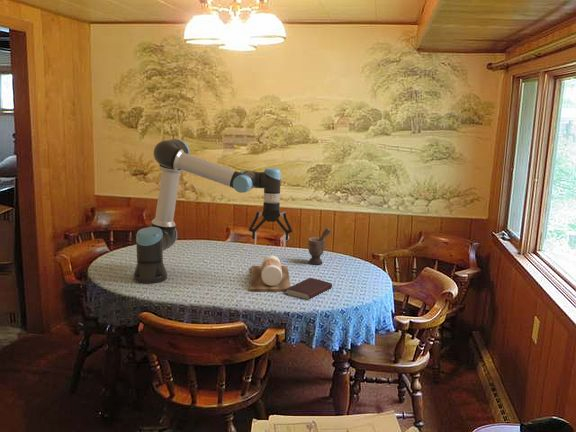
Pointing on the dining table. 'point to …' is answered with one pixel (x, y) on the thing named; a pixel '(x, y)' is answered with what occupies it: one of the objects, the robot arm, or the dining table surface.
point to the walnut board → (260, 286)
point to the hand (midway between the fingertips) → (269, 246)
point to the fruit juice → (271, 270)
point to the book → (309, 288)
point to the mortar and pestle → (317, 247)
